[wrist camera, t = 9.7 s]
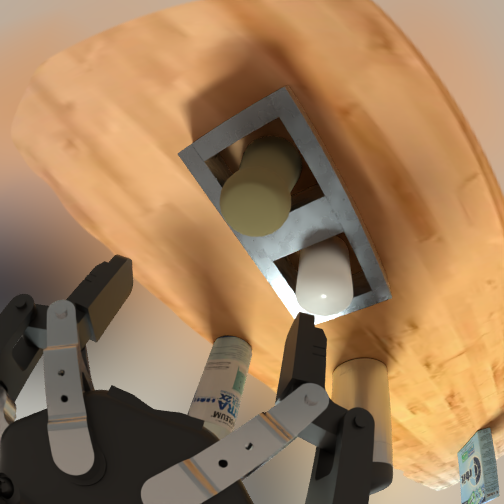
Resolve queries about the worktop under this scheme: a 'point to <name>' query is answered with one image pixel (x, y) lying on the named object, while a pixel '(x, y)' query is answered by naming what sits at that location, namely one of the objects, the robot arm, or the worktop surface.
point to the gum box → (478, 469)
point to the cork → (261, 187)
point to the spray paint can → (222, 385)
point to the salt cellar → (324, 278)
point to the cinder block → (293, 203)
